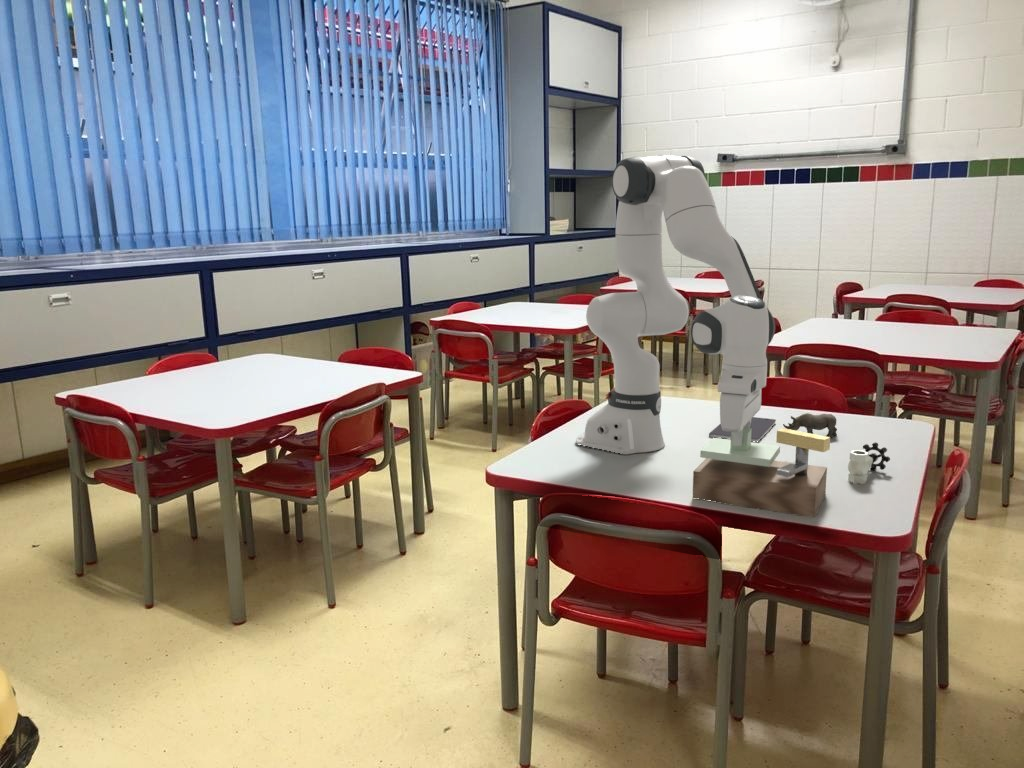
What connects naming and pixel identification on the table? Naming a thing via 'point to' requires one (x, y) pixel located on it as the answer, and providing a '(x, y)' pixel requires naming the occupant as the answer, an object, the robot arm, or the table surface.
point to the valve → (865, 462)
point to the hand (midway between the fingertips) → (740, 441)
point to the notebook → (757, 425)
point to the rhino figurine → (814, 423)
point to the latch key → (800, 449)
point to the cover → (741, 450)
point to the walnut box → (760, 486)
